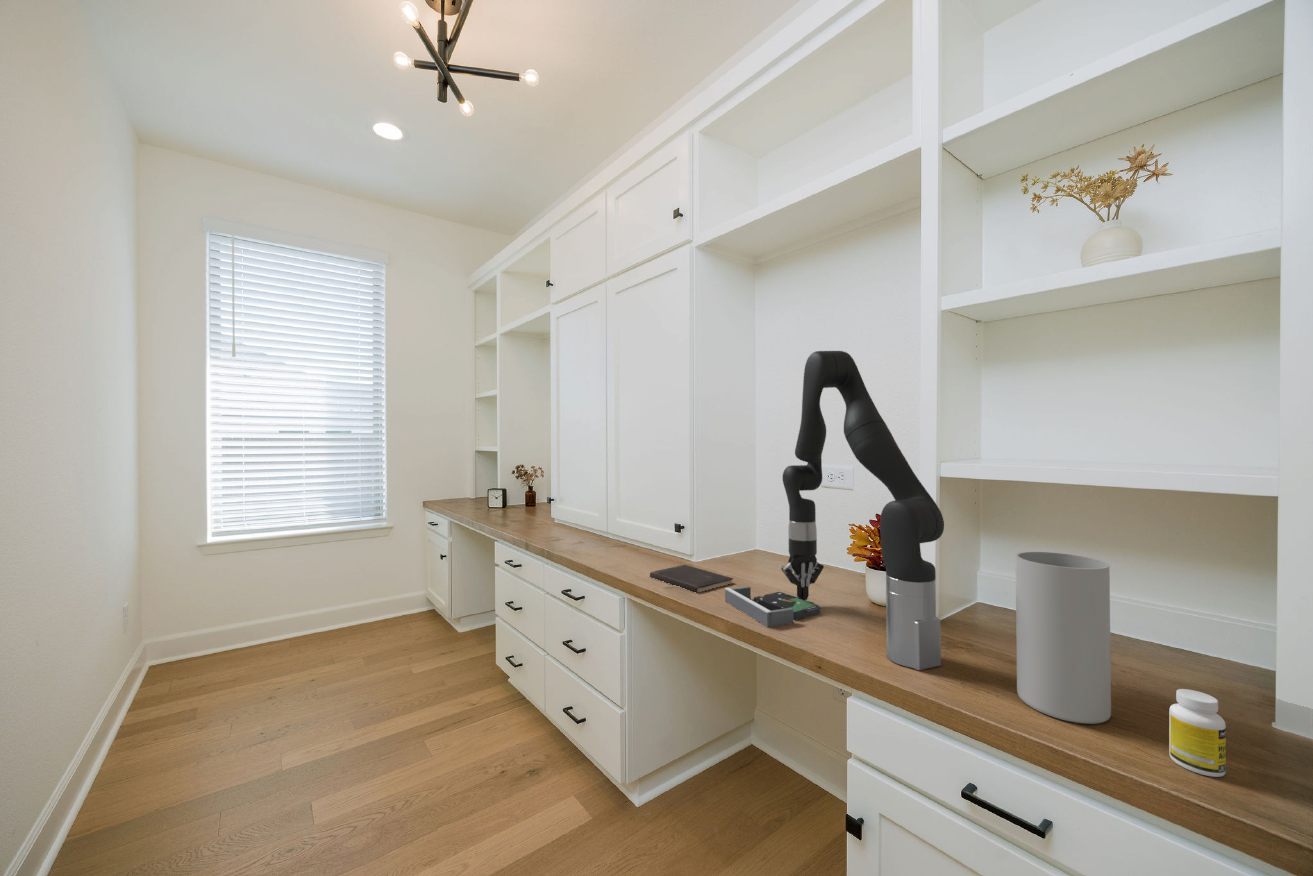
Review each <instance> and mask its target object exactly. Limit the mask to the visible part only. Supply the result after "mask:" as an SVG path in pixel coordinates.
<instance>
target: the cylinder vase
mask: <svg viewBox="0 0 1313 876" xmlns="http://www.w3.org/2000/svg"><path fill="white" fill-rule="evenodd" d="M1110 579H1111V578H1110V564H1109V563H1108V562H1106V561H1102V560H1099V559H1096V558H1092V557H1087V556H1082V555H1076V554H1069V553H1062V552H1061V553H1060V552H1049V551H1021V552H1017V553H1015V612H1016V614H1015V616H1016V617H1015V618H1016V619H1015V620H1016V623H1015V626H1016V630H1015V632H1016V692H1017V695H1018V696H1019V698H1020V700H1021V701H1022V702H1024V703H1025V704H1026V705H1027V706H1029V707H1031V709H1034V710H1036V711H1038V712H1040V713H1041V714H1045V715H1047V716H1049V717H1053V718H1055V719H1059V720H1062V721H1066V722H1070V723H1075V724H1082V725H1083V724H1084V725H1085V724H1087V725H1096V724H1097V725H1098V724H1102V723H1105V722H1107V721H1108V720H1109V719H1110V718H1111V716H1112V687H1111V686H1112V681H1111V676H1112V673H1111V671H1112V670H1111V665H1112V664H1111V604H1110V603H1111V595H1110V594H1111V592H1110V589H1111V588H1110V587H1111V586H1110V585H1111V584H1110V583H1111V581H1110Z"/></svg>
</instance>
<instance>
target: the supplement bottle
mask: <svg viewBox="0 0 1313 876" xmlns="http://www.w3.org/2000/svg"><path fill="white" fill-rule="evenodd" d="M1175 698H1176V699H1175V700H1176V702H1177V703H1172V704H1171V705H1170V707H1169V710H1168V711H1169V713H1168V715H1169V716H1168V718H1169V721H1168V722H1169V724H1168V726H1169V727H1168V730H1169V732H1168V734H1169V735H1168V738H1169V742H1168V743H1169V745H1168V748H1169V754H1168V755H1169V757H1170V759H1171V761H1173V762H1174V763H1176V765H1178V766H1180V767H1182V768H1184V769H1186V770H1187V771H1190V772H1193V773H1196V774H1199V775H1203V776H1207V777H1211V778H1212V777H1213V778H1220V777H1221V778H1222V777H1224V776H1225V775H1226V773H1227V772H1226V771H1227V767H1226V766H1227V765H1226V764H1227V762H1226V761H1227V759H1226V758H1227V757H1226V755H1227V753H1226V747H1227V746H1226V744H1227V743H1226V742H1227V741H1226V739H1227V728H1226V721H1225V720H1224V719H1223V717H1222V716H1221V715H1219V714H1217V713H1218V712H1219V700H1218V699H1217V698H1215V697H1214V696H1212V695H1210V694H1208V693H1205V692H1201V691H1198V690H1195V689H1193V690H1192V689H1187V688H1179V689H1176V696H1175Z"/></svg>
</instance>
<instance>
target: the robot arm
mask: <svg viewBox="0 0 1313 876" xmlns="http://www.w3.org/2000/svg"><path fill="white" fill-rule="evenodd" d="M806 359H807V360H806V362H805V364H804V369H803V370H804V372H803V383H802V385H803V386H802V400H801V417H800V418H801V419H800V425H799V432H798V435H797V441H796V445H795V447H794V448H795V449H794V455H795V457H796V458H797V459H798V460H800V461H801V462H804V463H807V464H806V465H805V464H804V465H802V464H800V465H799V464H798V465H792V464H791V465H788V466H787V467H785V469H784V470H783V472H782V484H783V487H784V490H785V494H786V497H787V498H786V499H787V502H788V506H789V509H788V510H789V511H788V514H789V517H788V518H789V523H788V554H789V558H788V563H787V564H786V565H785V566H781V571H782V572H783V574H784V575H785V577H786V578H787V579H788V581H789V582H790V583H791V584H793V585H794V586H796V597H797V598H800V599H803V600H806V601H808V599H809V596H810V595H809V591H810V590H809V588H810V585H812V584H815V583H816V581H817V580H818V578H819V577H820V575H821V573H822V571H823V569H824V568H825V567H824V565H823V564H821V563H820V562H818V558H817V557H816V555H817V554H818V553H817V552H818V551H817V550H818V548H817V547H818V544H817V543H818V542H817V541H818V539H817V537H818V536H817V534H818V533H817V523H816V522H817V521H816V520H817V519H816V517H817V516H816V515H817V513H816V503H815V501H814V500H812V499H809V498H803V497H802V495H801V493H800V491H815V490H817V489H818V488H819V487H820V486H821V485H822V483H823V470H822V469H823V467H822V463H823V462H822V461H823V460H822V457H823V456H822V454H823V451H824V446H825V442H826V439H827V438H826V437H827V425H826V421H825V419H824V416H823V413H822V410H821V396H822V393H823V391H824V389H828V388H829V389H830V388H831V389H832V388H836V389H837V391H839V393H840V395H841V396H842V399H843V401H844V403H845V415H844V421H843V435H844V437H845V440H846V441H847V444H848V446H849V448H850V449H851V451H852V453H853V455H854V457H855V458H856V460H857V461H858V462H859V463H860V464H861V465H862V466H863V467H864V468H865V469H866V470H867V471H869V473H871V474H872V475H873V477H875V478H876V479H878V480H879V481H880V482H881V483H882V484H883V485H884V486H885V487H886V488H887V489H888V491H889V492H890V494H891V496H892V497H893V499H894V500H892V501H889V502H888V503H886V504H885V505H884V506H883V509H882V511H881V513H880V518H879V519H880V520H879V530H880V544H881V546H880V547H881V557H882V561H883V563H884V566H885V593H886V594H885V607H886V609H885V610H886V611H885V612H886V613H885V614H886V615H885V616H886V621H885V622H886V623H885V624H886V631H885V632H886V656H887V658H888V659H889V660H890V661H891V662H893V663H895V664H897V665H901V666H904V667H906V668H911V669H914V670H917V671H923V670H927V669H931V668H937V667H940V666H942V659H941V658H942V653H941V652H942V651H941V650H942V649H941V648H942V647H941V645H942V644H941V643H942V642H941V641H942V640H941V636H942V635H941V634H942V633H941V624H942V623H941V619H940V618H939V617H938V616H937V607H936V606H937V604H936V603H937V600H936V599H937V597H936V596H937V594H936V593H937V590H936V589H937V587H936V585H937V584H936V581H937V577H936V576H937V575H936V574H937V573H936V567H935V565H934V564H933V563H932V562H929V561H928V560H924V559H923V557H922V551H921V544H925V543H931V542H934V541H937V540H939V539H940V538H941V537H942V535H943V533H944V529H945V521H944V516H943V514H942V511H941V509H940V508H939V507H938V505H937V502H936V501H935V500H934V499H933V497H932V496H931V495H930V493H929V492H928V491H927V489H926V488H925V486H924V485H923V483H922V482H921V481H920V479H919V478H918V477H917V475H916V474H915V472H914V471H913V468H911V465H910V464H909V463H908V462H909V461H908V460H907V459H906V457H905V456H904V454H903V452H902V450H901V449H900V447H899V446H898V444H897V442H896V440H895V437H894V435H893V434H892V433H891V431H890V429H889V427H888V425H887V424H886V422H885V420H884V419H883V417H882V416H881V414H880V412H879V410H878V409H877V407H876V405H875V402H873V399H872V397H871V395H870V394H869V391H868V389H867V386H866V385H865V382H864V380H863V378H862V375H861V373H860V370H859V368H858V366H857V363H856V362H855V359H854V358H853V357H852V356H851V355H850V354H849V353H848V352H847V351H843V350H817V351H813V352H812V353H811V354H809V356H808V357H807V358H806Z"/></svg>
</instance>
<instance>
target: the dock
mask: <svg viewBox="0 0 1313 876" xmlns="http://www.w3.org/2000/svg"><path fill="white" fill-rule="evenodd" d="M751 596H752V595H751V586H749V585H748V586H740V587H732V588H731V587H725V588H724V602H725V601H726V602H725V603H727V604H728V603H729V604H728V605H730V604H731V605H730V606H731V607H733V606H734V607H733V608H735V609H736V610H738V611H740V610H741V611H743V612H744V613H743V612H742V613H743V614H745V613H746V614H747V616H748V615H749V616H748V617H749V618H751V617H752V618H751V619H753V620H754V619H755V620H754V621H756V620H757V621H756V622H758V623H759V622H760V624H761V623H762V624H761V625H763V626H764V627H766V626H767V627H766V628H771V627H770V626H773V627H778V626H779V625H780V626H784V624H786V625H790V624H791V625H792V624H794V621H793V609H792V608H786V609H779V610H772V611H770V610H768V609H766V608H765V607H763V606H761V605H759V604H757V603H756V602H754V600H752V598H751ZM750 599H751V600H750ZM741 611H740V612H741ZM746 614H745V615H746ZM780 626H779V627H780Z"/></svg>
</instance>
